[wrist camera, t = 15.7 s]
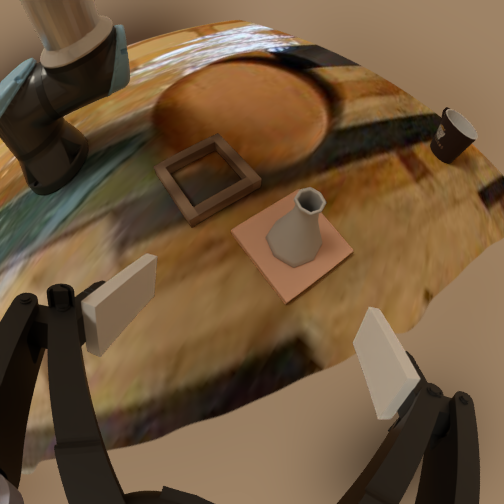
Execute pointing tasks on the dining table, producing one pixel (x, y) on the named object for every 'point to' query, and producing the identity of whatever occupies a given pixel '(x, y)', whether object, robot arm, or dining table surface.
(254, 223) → the terracotta coaster
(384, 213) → the dining table surface
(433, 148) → the coffee mug
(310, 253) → the flask
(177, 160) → the walnut holder
